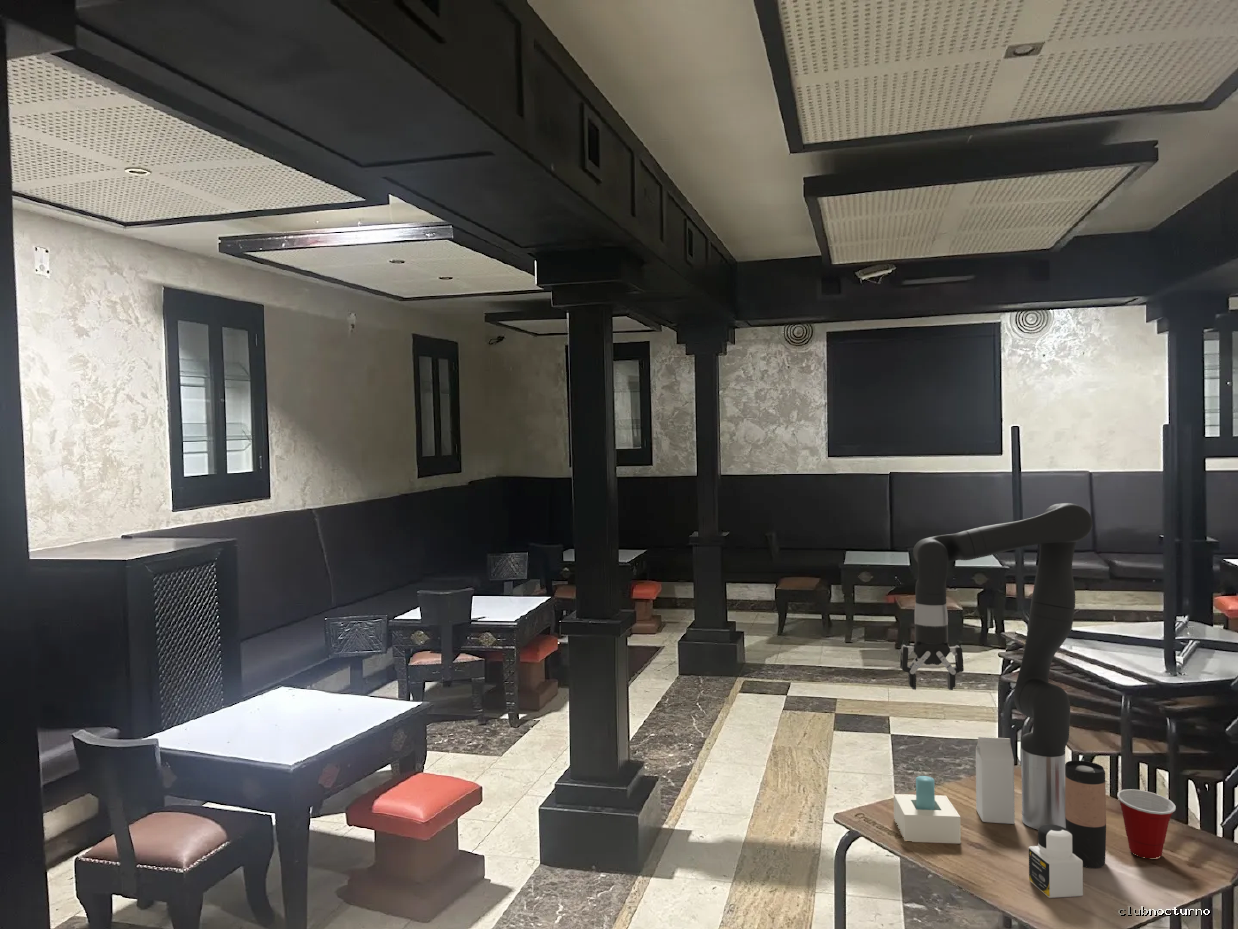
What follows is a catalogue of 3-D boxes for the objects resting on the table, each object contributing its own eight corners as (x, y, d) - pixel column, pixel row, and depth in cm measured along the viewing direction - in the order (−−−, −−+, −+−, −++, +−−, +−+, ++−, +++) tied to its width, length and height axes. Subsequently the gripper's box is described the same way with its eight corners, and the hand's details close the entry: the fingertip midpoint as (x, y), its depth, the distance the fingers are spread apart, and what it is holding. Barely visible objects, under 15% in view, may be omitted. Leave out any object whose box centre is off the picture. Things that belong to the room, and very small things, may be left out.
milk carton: (1014, 824, 200) (1013, 743, 200) (982, 822, 202) (981, 741, 202) (1007, 812, 207) (1006, 734, 207) (976, 810, 209) (975, 732, 209)
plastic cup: (1152, 870, 178) (1152, 812, 178) (1105, 848, 188) (1105, 793, 188) (1188, 860, 182) (1188, 804, 182) (1140, 839, 192) (1140, 786, 192)
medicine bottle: (1028, 881, 174) (1027, 821, 174) (1061, 879, 174) (1061, 820, 174) (1048, 899, 167) (1048, 837, 167) (1083, 896, 167) (1083, 835, 167)
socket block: (946, 821, 203) (945, 795, 203) (960, 843, 191) (960, 816, 191) (893, 819, 204) (893, 794, 204) (905, 841, 192) (904, 814, 192)
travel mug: (1057, 856, 184) (1056, 763, 184) (1082, 849, 187) (1081, 758, 187) (1089, 872, 177) (1088, 775, 177) (1115, 864, 180) (1114, 769, 180)
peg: (932, 827, 199) (931, 776, 199) (936, 835, 195) (936, 782, 195) (914, 827, 200) (914, 775, 200) (918, 834, 196) (918, 782, 196)
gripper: (957, 619, 210) (958, 685, 210) (897, 618, 211) (898, 684, 211) (966, 625, 202) (967, 694, 202) (903, 624, 204) (904, 692, 204)
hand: (931, 689), depth 207 cm, fingers open, 8 cm apart
